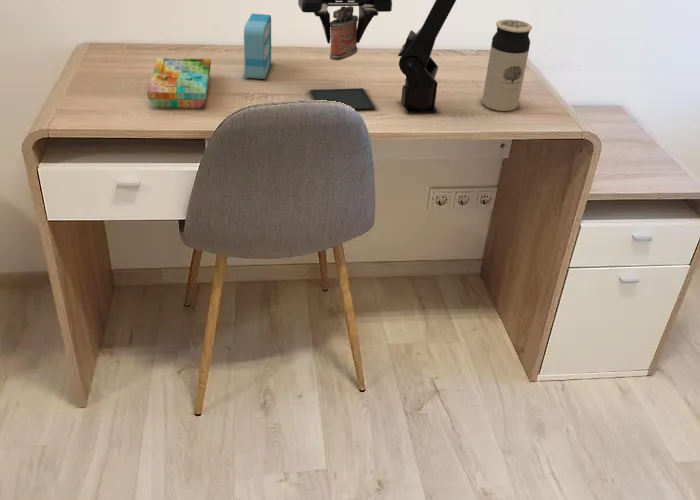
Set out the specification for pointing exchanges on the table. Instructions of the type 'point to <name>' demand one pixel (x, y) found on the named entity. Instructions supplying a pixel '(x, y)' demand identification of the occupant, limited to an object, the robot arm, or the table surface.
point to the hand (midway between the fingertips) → (343, 42)
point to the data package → (257, 46)
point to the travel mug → (506, 65)
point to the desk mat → (345, 97)
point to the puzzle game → (179, 82)
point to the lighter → (343, 34)
